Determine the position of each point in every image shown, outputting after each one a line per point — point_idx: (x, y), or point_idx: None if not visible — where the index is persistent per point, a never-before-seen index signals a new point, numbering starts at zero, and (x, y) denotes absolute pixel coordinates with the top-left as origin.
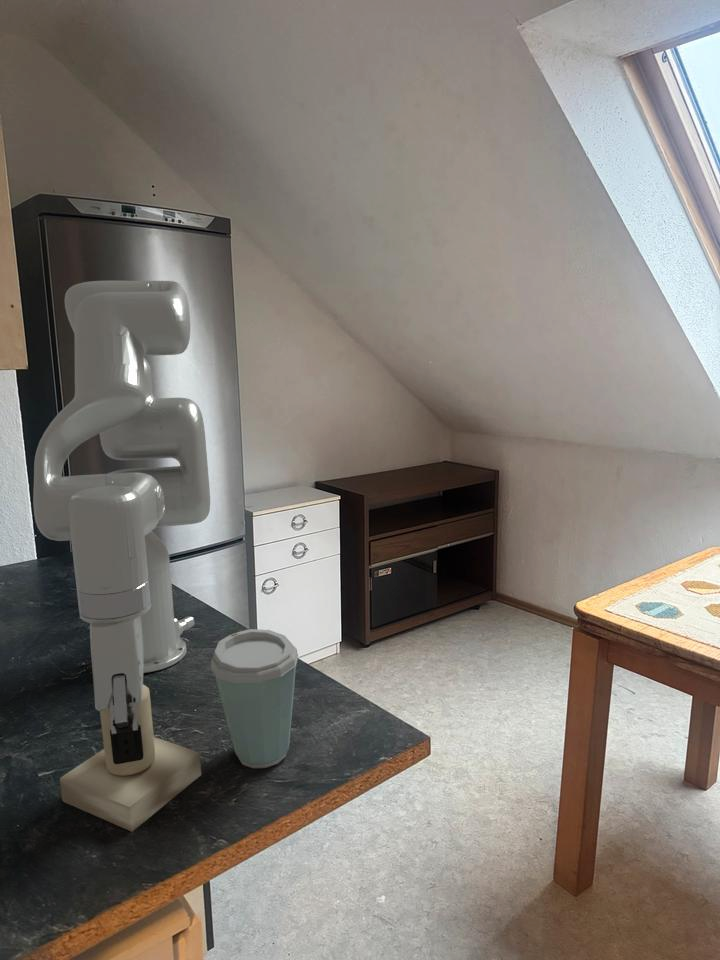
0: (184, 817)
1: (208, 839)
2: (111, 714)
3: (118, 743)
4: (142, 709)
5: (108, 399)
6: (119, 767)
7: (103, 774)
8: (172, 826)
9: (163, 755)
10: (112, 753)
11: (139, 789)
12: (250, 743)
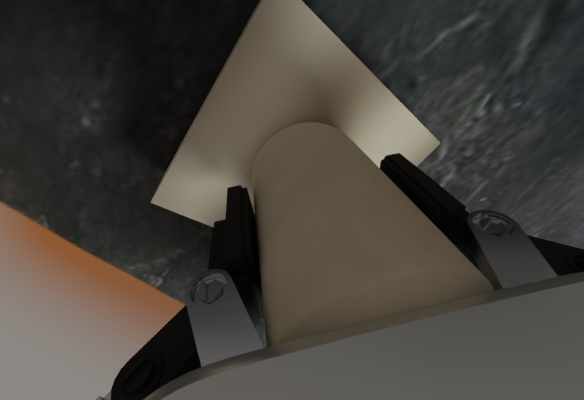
0: (205, 236)
1: (159, 269)
2: (202, 364)
3: (211, 255)
4: None
5: None
6: (253, 175)
7: (274, 117)
8: (184, 226)
9: None
10: (226, 205)
11: (210, 206)
12: None
